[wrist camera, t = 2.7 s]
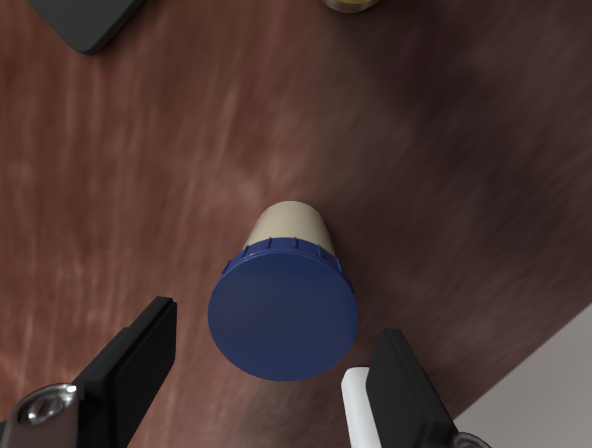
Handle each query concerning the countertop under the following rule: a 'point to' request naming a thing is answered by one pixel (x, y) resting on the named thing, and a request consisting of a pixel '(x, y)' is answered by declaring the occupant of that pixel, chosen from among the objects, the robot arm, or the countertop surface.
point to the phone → (86, 20)
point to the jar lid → (283, 310)
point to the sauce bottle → (349, 5)
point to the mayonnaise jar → (292, 225)
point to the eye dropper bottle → (359, 409)
